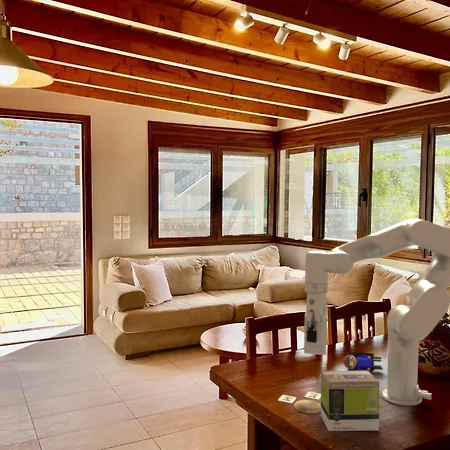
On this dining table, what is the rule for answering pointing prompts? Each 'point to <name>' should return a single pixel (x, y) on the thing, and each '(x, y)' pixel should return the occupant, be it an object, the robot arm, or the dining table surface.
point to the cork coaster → (307, 406)
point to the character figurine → (361, 361)
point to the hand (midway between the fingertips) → (315, 338)
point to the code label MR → (287, 399)
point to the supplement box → (321, 338)
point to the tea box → (350, 400)
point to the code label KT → (313, 395)
